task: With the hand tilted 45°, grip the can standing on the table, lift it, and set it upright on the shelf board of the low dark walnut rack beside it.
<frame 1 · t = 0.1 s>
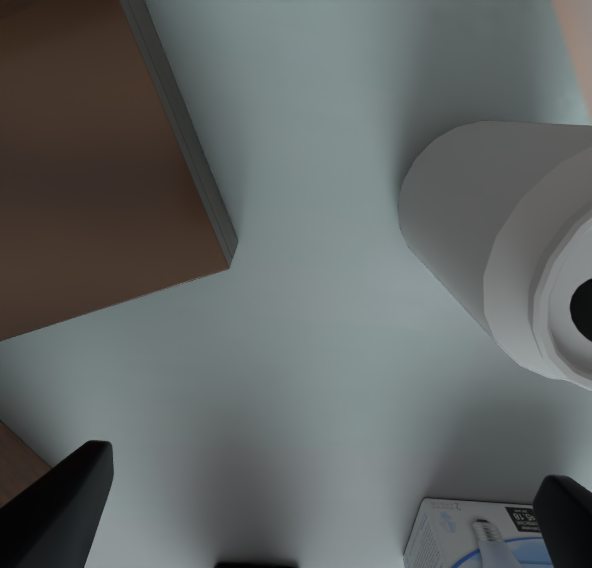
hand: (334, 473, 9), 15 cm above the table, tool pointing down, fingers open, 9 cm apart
light bulb box: (477, 530, 31), on the table
rack: (21, 185, 20), on the table
can: (464, 198, 21), on the table
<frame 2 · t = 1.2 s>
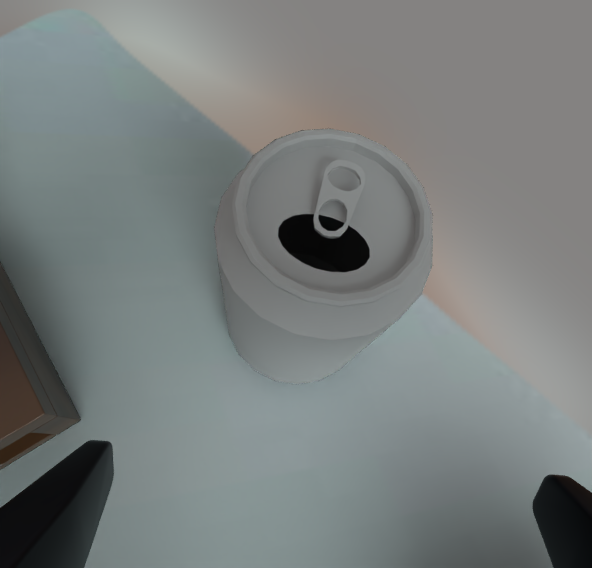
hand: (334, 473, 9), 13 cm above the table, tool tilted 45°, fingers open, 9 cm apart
can: (293, 320, 24), on the table
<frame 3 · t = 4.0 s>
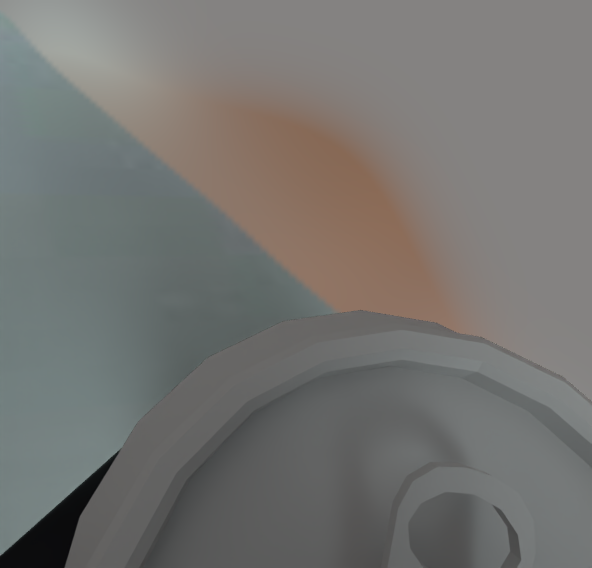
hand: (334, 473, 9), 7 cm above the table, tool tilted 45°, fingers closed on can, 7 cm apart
can: (292, 506, 14), on the table, touching gripper
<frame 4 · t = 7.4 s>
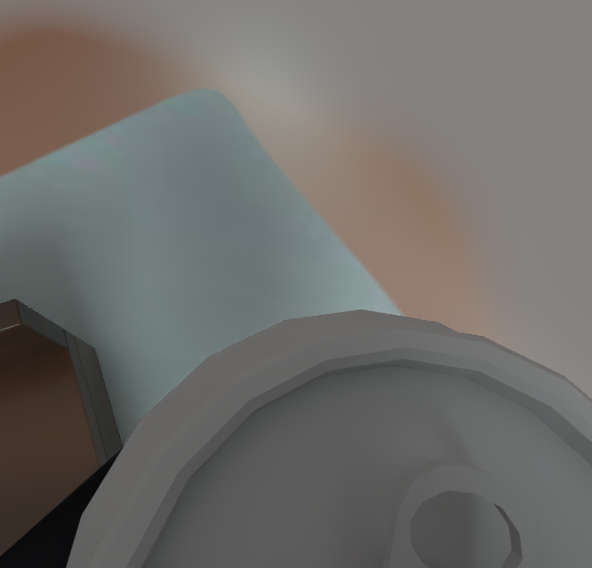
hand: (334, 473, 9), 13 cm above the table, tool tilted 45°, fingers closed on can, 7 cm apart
can: (293, 506, 14), point 6 cm above the table, touching gripper
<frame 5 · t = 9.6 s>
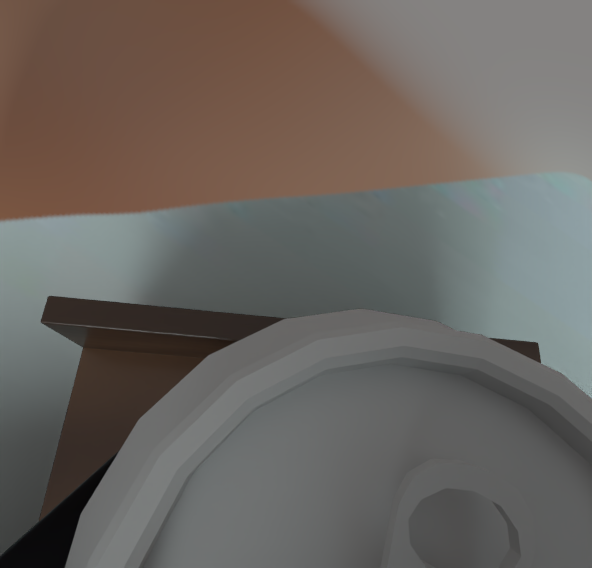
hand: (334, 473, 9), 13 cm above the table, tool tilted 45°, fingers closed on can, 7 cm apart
rack: (276, 482, 20), on the table
can: (292, 505, 14), point 6 cm above the table, touching gripper
when the fingers open (11 cm above the table, at t = 11.2 s): can stays where it is, resting on rack.
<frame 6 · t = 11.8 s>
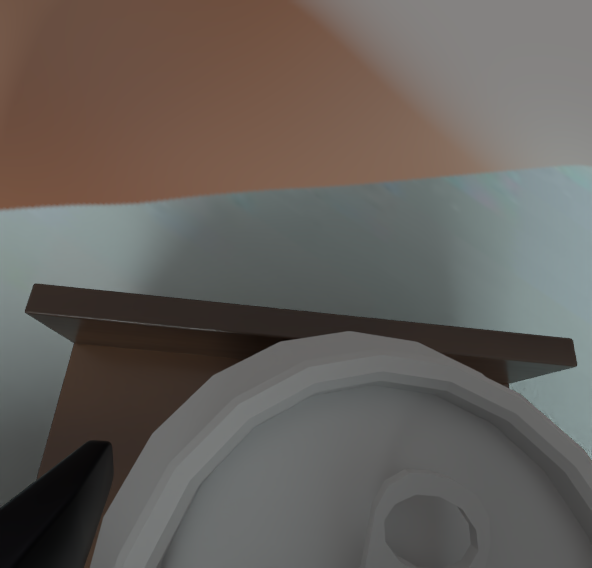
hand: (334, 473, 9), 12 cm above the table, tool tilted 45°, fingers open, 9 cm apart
rack: (282, 491, 19), on the table
can: (290, 505, 15), point 4 cm above the table, touching rack
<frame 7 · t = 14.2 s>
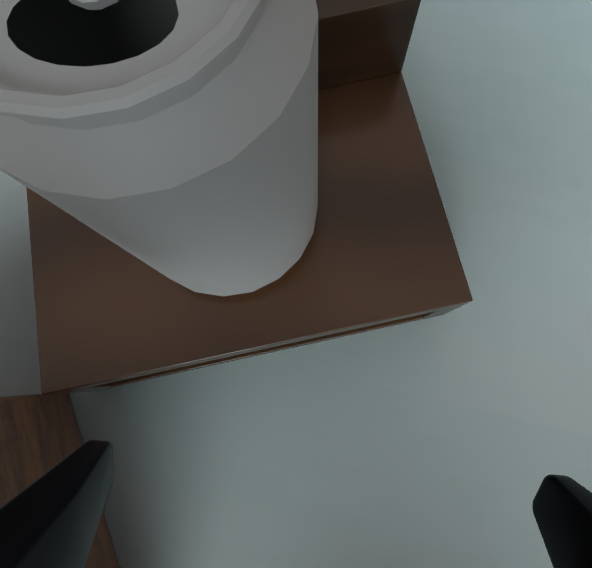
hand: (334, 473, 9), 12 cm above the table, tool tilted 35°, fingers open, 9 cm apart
rack: (246, 241, 22), on the table
can: (232, 217, 18), point 4 cm above the table, touching rack
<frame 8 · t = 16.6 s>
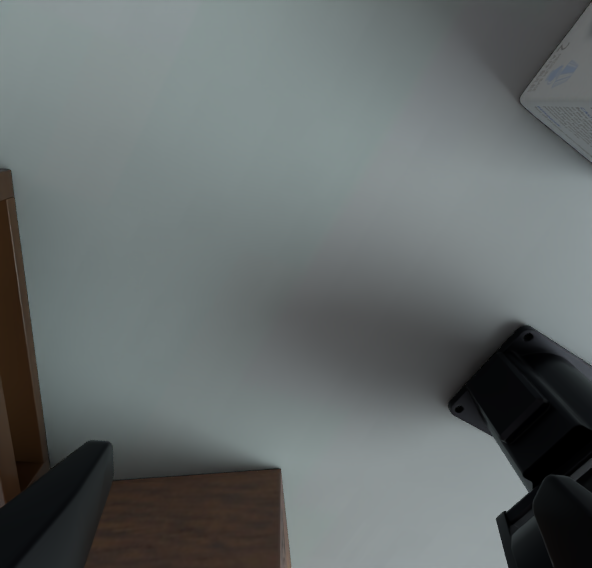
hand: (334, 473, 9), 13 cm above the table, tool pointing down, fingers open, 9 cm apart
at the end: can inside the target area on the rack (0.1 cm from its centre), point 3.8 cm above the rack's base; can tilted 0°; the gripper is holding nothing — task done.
